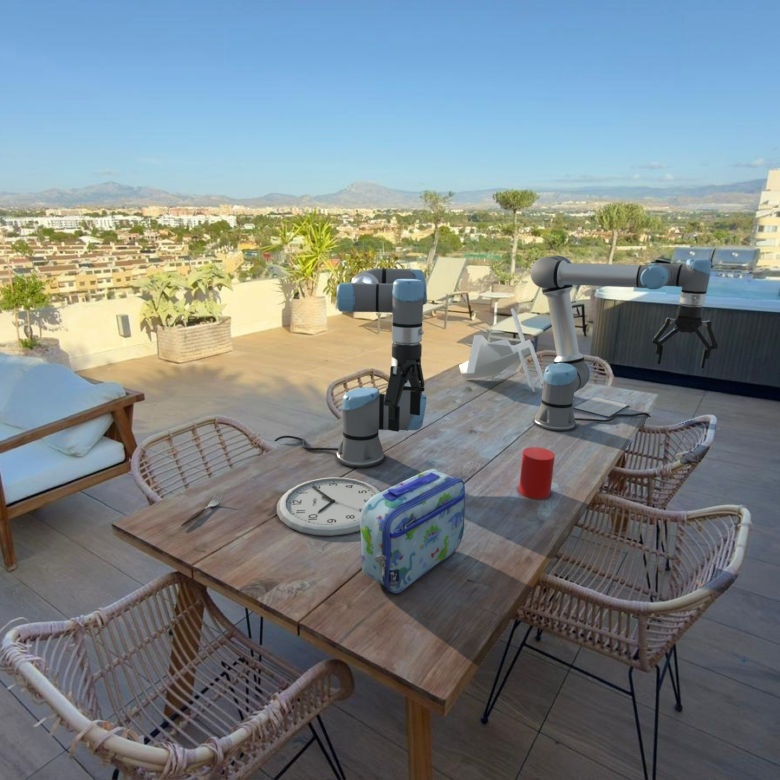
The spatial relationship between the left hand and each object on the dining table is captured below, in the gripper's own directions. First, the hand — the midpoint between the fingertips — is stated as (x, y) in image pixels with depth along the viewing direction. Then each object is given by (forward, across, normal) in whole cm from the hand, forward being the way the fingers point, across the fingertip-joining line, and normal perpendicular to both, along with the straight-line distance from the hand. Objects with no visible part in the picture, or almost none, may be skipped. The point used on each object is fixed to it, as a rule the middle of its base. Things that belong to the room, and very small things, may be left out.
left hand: (404, 422), depth 137 cm
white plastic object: (+23, +125, +5) cm, 127 cm away
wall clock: (+24, -9, +17) cm, 31 cm away
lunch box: (+24, -24, -14) cm, 37 cm away
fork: (+24, -28, +45) cm, 59 cm away
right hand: (-4, +89, -67) cm, 112 cm away
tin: (+24, +24, -31) cm, 46 cm away
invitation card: (+23, +116, -42) cm, 125 cm away
